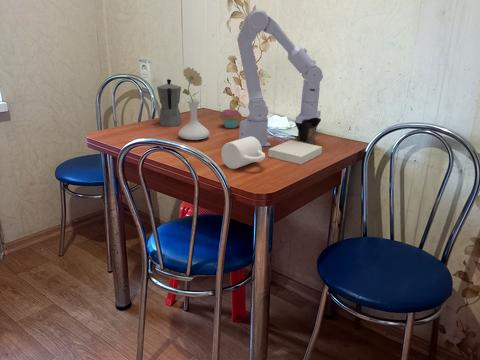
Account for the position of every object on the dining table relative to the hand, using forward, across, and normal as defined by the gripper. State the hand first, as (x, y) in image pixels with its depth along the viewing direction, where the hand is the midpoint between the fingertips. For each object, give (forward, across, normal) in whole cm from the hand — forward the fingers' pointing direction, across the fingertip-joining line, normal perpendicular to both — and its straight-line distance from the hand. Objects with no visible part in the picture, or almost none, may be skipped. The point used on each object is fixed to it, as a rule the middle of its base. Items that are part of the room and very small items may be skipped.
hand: (306, 139), depth 149 cm
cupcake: (+2, +2, +35) cm, 36 cm away
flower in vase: (+2, -20, +36) cm, 41 cm away
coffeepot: (+2, -12, +56) cm, 57 cm away
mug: (+2, -32, +3) cm, 32 cm away
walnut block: (+1, 0, 0) cm, 1 cm away
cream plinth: (+2, -13, -3) cm, 14 cm away
